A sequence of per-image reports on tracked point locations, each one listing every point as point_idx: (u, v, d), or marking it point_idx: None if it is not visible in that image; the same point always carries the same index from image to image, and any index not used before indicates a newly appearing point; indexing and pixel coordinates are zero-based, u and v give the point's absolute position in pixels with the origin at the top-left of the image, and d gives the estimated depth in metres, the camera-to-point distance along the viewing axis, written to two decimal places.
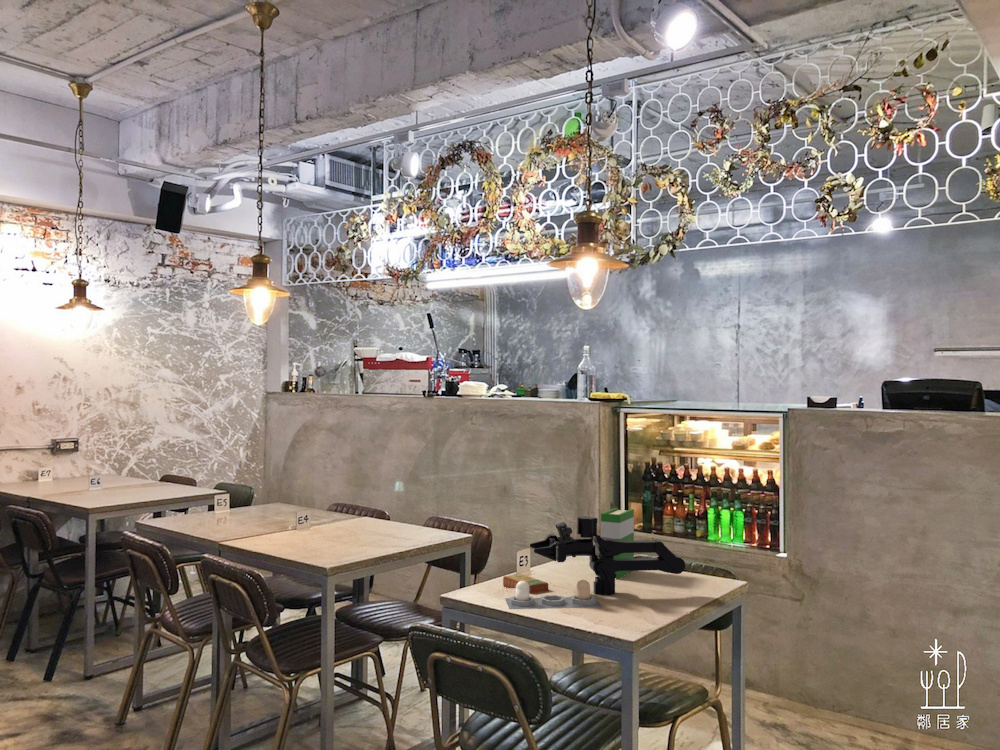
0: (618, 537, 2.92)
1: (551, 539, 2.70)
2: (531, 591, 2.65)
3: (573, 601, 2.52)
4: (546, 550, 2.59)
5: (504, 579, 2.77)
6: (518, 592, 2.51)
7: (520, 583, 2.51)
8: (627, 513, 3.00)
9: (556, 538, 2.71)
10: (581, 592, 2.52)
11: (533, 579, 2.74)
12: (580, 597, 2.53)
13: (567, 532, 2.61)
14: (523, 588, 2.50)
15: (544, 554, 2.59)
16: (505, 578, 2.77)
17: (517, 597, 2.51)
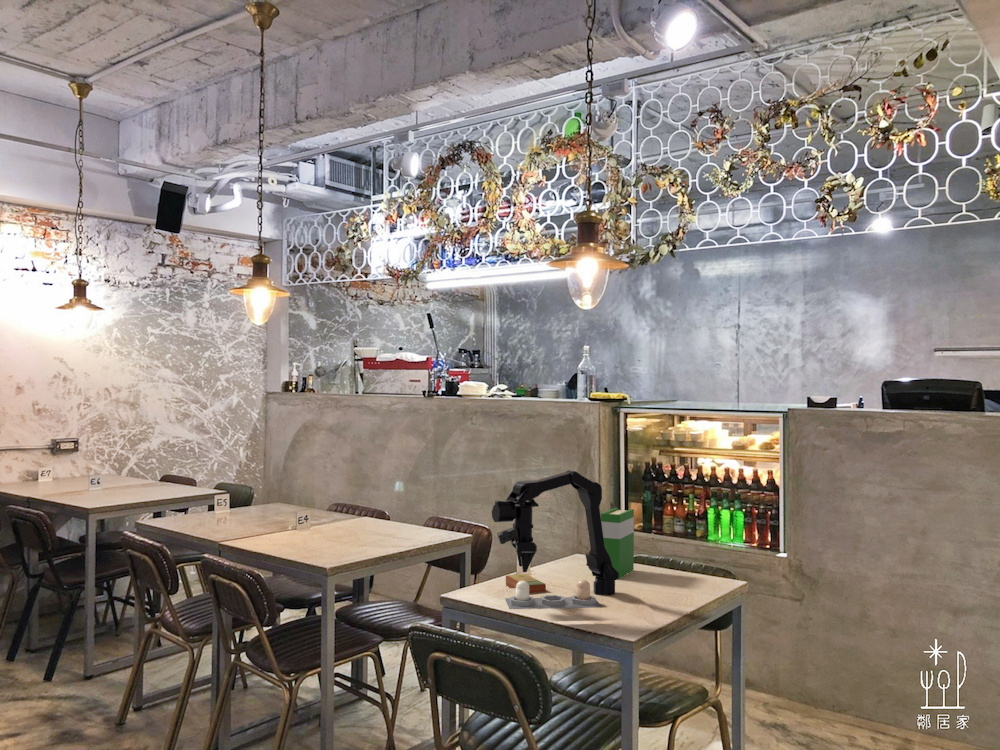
0: (618, 537, 2.92)
1: (515, 542, 2.58)
2: None
3: (573, 601, 2.52)
4: (525, 560, 2.47)
5: (506, 578, 2.79)
6: (518, 592, 2.51)
7: (520, 583, 2.51)
8: (627, 513, 3.00)
9: None
10: (581, 592, 2.52)
11: (533, 579, 2.73)
12: (580, 597, 2.53)
13: (506, 536, 2.48)
14: (523, 588, 2.50)
15: (528, 562, 2.47)
16: (507, 577, 2.78)
17: (517, 597, 2.51)
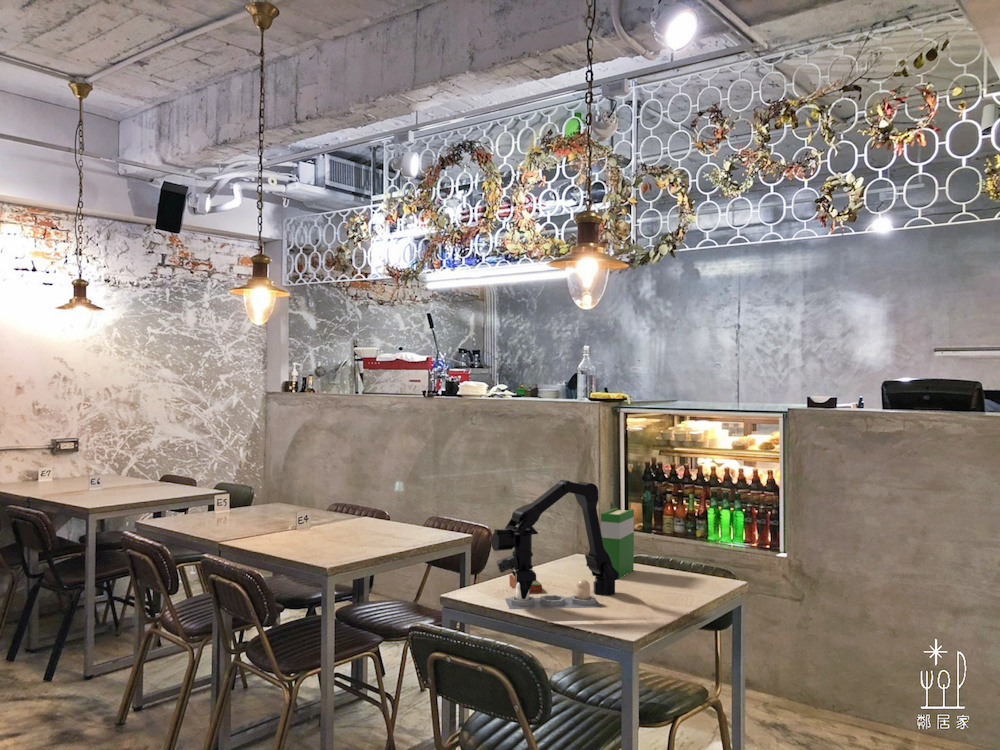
0: (618, 537, 2.92)
1: (515, 570, 2.56)
2: None
3: (573, 601, 2.52)
4: (523, 586, 2.49)
5: None
6: (518, 592, 2.51)
7: None
8: (627, 513, 3.00)
9: None
10: (581, 592, 2.52)
11: None
12: (580, 597, 2.53)
13: (506, 564, 2.48)
14: None
15: (527, 589, 2.49)
16: (510, 576, 2.79)
17: (517, 597, 2.51)
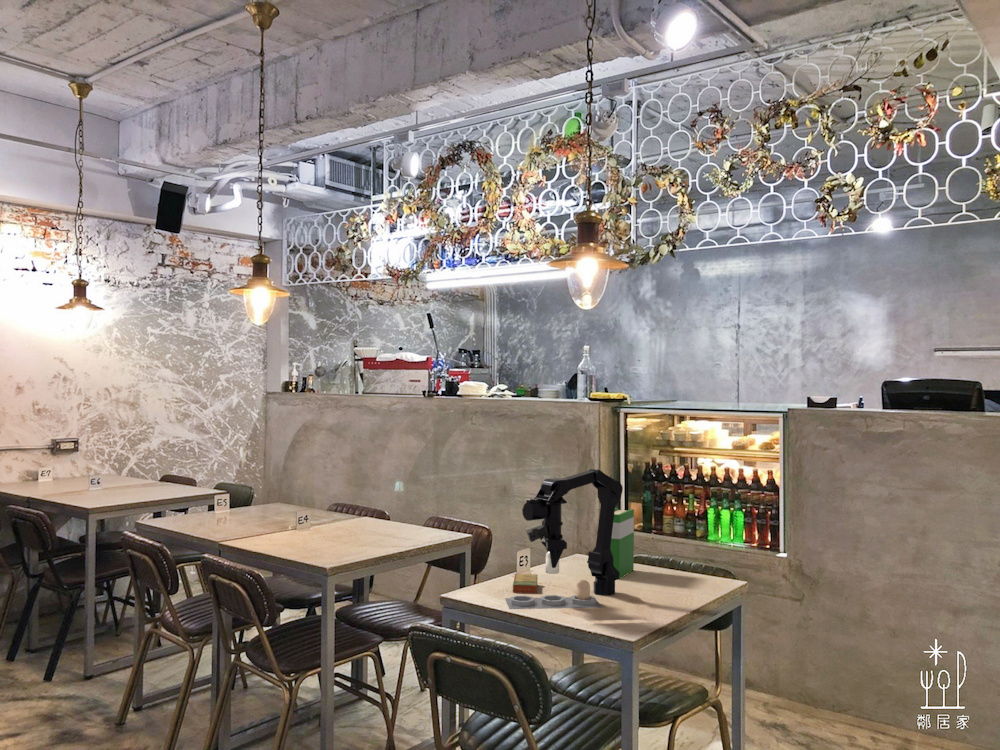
0: (618, 537, 2.92)
1: (545, 540, 2.57)
2: (514, 590, 2.66)
3: (573, 601, 2.52)
4: (554, 555, 2.50)
5: None
6: (548, 561, 2.52)
7: None
8: (627, 513, 3.00)
9: None
10: (581, 592, 2.52)
11: (531, 580, 2.72)
12: (580, 597, 2.53)
13: (536, 533, 2.49)
14: None
15: (557, 558, 2.50)
16: None
17: (547, 566, 2.52)
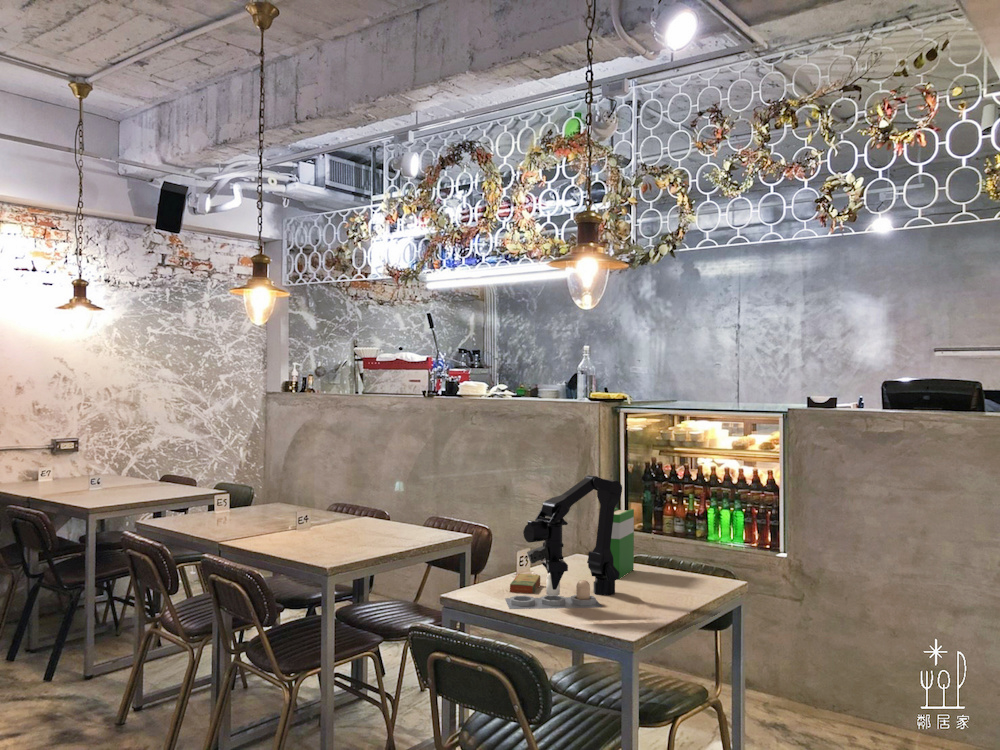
0: (618, 537, 2.92)
1: (546, 561, 2.57)
2: (511, 589, 2.67)
3: (573, 601, 2.52)
4: (554, 577, 2.50)
5: None
6: (549, 583, 2.52)
7: None
8: (627, 513, 3.00)
9: None
10: (581, 592, 2.52)
11: (531, 580, 2.72)
12: (580, 597, 2.53)
13: (537, 555, 2.49)
14: None
15: (558, 580, 2.50)
16: None
17: (548, 588, 2.52)
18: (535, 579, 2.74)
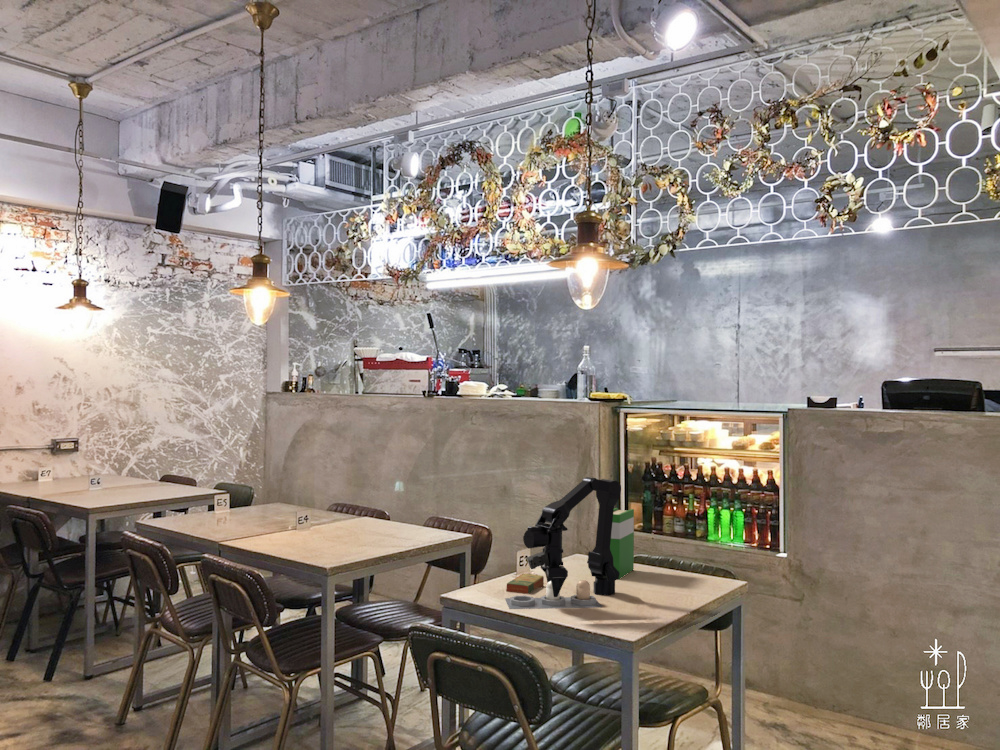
0: (618, 537, 2.92)
1: (545, 566, 2.59)
2: (507, 589, 2.68)
3: (573, 601, 2.52)
4: (556, 585, 2.48)
5: None
6: (549, 591, 2.52)
7: (551, 583, 2.52)
8: (627, 513, 3.00)
9: None
10: (581, 592, 2.52)
11: (529, 581, 2.71)
12: (580, 597, 2.53)
13: (537, 561, 2.49)
14: None
15: (559, 587, 2.48)
16: None
17: (548, 596, 2.52)
18: (535, 579, 2.73)
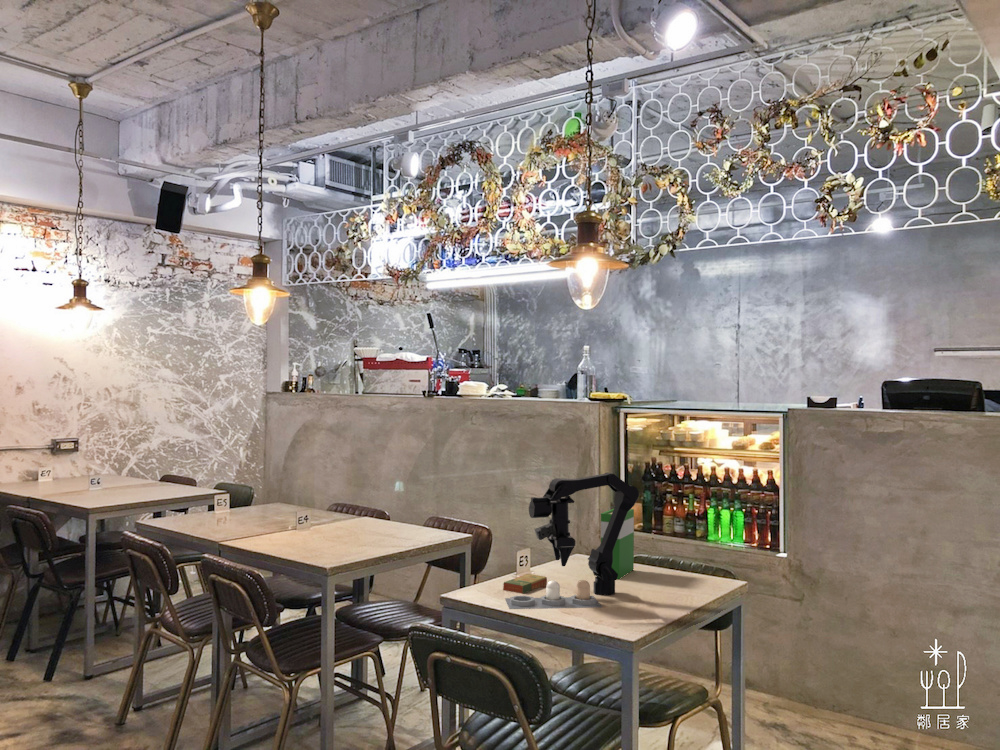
0: (618, 537, 2.92)
1: (551, 537, 2.67)
2: (504, 587, 2.69)
3: (573, 601, 2.52)
4: (563, 554, 2.56)
5: None
6: (549, 591, 2.52)
7: (551, 583, 2.52)
8: (627, 513, 3.00)
9: None
10: (581, 592, 2.52)
11: (528, 581, 2.71)
12: (580, 597, 2.53)
13: (545, 532, 2.57)
14: (554, 587, 2.51)
15: (567, 556, 2.56)
16: None
17: (548, 596, 2.52)
18: (535, 580, 2.73)
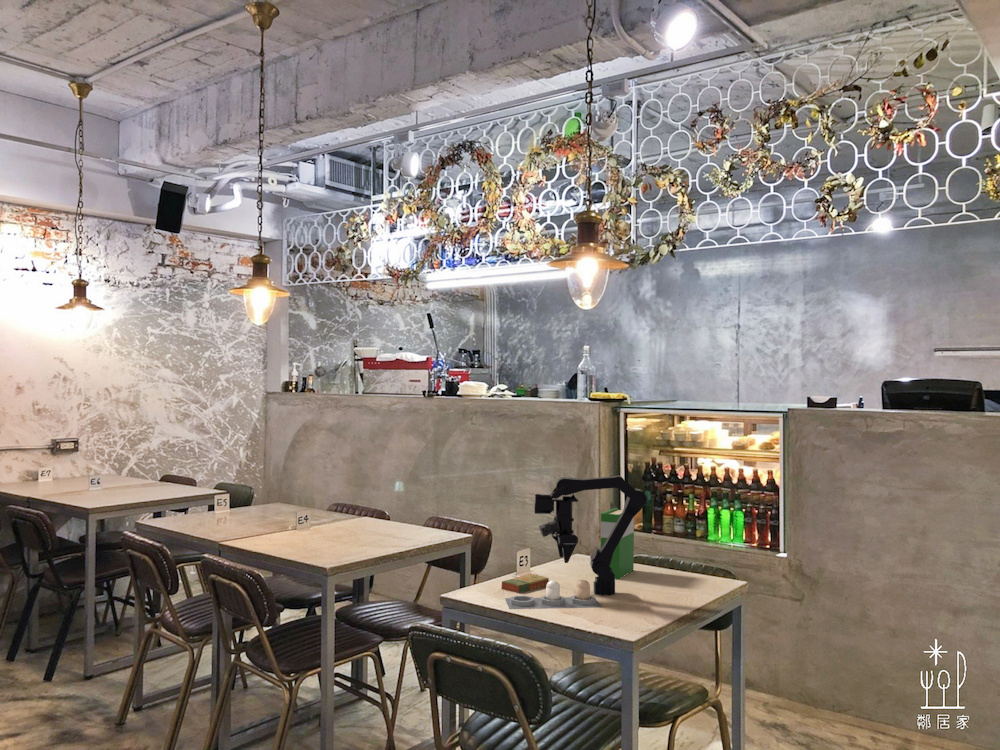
0: None
1: (555, 534, 2.73)
2: (502, 586, 2.70)
3: (573, 601, 2.52)
4: (566, 551, 2.62)
5: None
6: (549, 591, 2.52)
7: (551, 583, 2.52)
8: None
9: None
10: (581, 592, 2.52)
11: (527, 581, 2.71)
12: (580, 597, 2.53)
13: (549, 529, 2.63)
14: (554, 587, 2.51)
15: (570, 553, 2.62)
16: None
17: (548, 596, 2.52)
18: (534, 580, 2.72)
